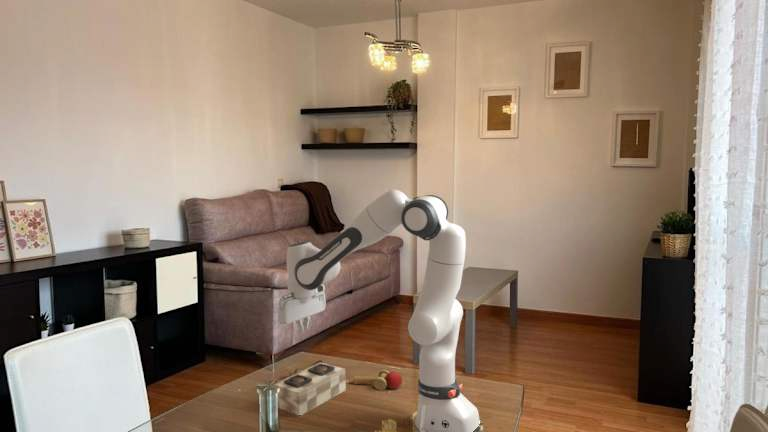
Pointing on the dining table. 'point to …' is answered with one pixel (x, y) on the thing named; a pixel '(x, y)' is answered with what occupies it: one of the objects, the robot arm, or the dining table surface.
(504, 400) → the dining table surface
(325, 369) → the peg right
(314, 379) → the collar block
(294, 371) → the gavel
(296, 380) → the peg left
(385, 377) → the kendama
